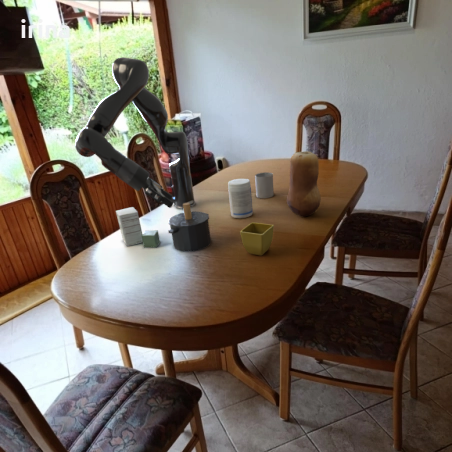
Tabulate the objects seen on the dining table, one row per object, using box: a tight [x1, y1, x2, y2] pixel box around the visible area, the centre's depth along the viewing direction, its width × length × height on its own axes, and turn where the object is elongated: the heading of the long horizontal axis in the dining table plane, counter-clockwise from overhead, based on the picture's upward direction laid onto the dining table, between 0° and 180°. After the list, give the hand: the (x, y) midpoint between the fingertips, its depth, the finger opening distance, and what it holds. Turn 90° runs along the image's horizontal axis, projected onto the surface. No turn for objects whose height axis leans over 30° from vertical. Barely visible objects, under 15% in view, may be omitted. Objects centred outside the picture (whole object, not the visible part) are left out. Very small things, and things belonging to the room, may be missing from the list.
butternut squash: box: [286, 150, 322, 218], centre depth 161 cm, size 14×13×25 cm
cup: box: [254, 171, 275, 199], centre depth 192 cm, size 8×8×10 cm
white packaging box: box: [115, 206, 143, 247], centre depth 157 cm, size 7×7×13 cm
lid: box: [167, 203, 210, 228], centre depth 146 cm, size 15×15×7 cm
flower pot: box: [239, 221, 275, 256], centre depth 138 cm, size 9×9×9 cm
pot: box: [167, 213, 212, 253], centre depth 150 cm, size 14×19×10 cm
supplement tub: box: [227, 178, 254, 219], centre depth 170 cm, size 10×10×15 cm
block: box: [142, 229, 161, 249], centre depth 154 cm, size 5×5×5 cm
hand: (171, 202), depth 143 cm, fingers open, 8 cm apart
